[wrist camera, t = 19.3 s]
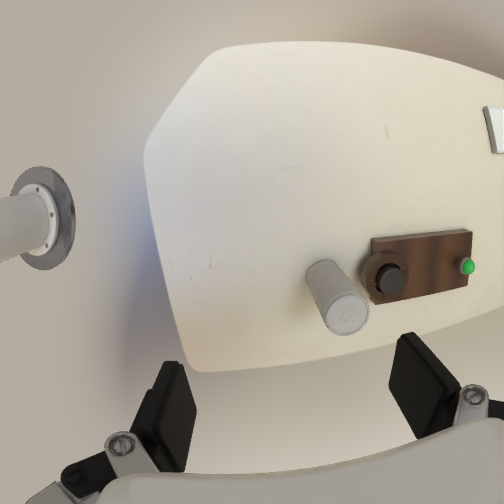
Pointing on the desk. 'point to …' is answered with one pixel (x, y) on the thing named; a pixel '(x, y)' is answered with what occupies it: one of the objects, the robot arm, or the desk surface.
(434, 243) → the switch box
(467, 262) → the green lamp
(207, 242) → the desk surface
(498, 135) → the hard drive
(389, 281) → the button
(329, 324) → the beverage can
